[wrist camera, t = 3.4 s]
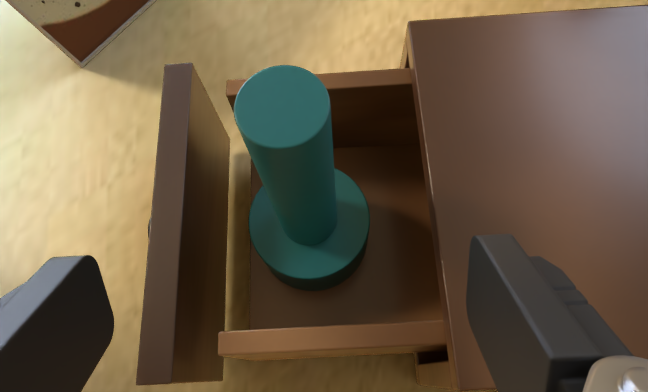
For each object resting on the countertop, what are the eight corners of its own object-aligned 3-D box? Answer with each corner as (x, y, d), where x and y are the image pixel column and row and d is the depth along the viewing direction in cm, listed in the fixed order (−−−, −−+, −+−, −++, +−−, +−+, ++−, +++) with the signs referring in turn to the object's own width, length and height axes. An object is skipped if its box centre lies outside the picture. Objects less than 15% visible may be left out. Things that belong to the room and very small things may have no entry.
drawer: (172, 383, 22) (98, 387, 15) (187, 141, 26) (136, 65, 20) (515, 366, 21) (588, 363, 15) (471, 123, 26) (512, 40, 19)
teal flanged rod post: (259, 294, 22) (169, 210, 11) (260, 190, 24) (183, 27, 13) (371, 288, 22) (398, 196, 11) (363, 184, 24) (378, 13, 12)
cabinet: (416, 384, 22) (458, 391, 14) (389, 127, 27) (407, 20, 19) (758, 368, 22) (1008, 365, 14) (667, 110, 27) (810, -8, 18)
